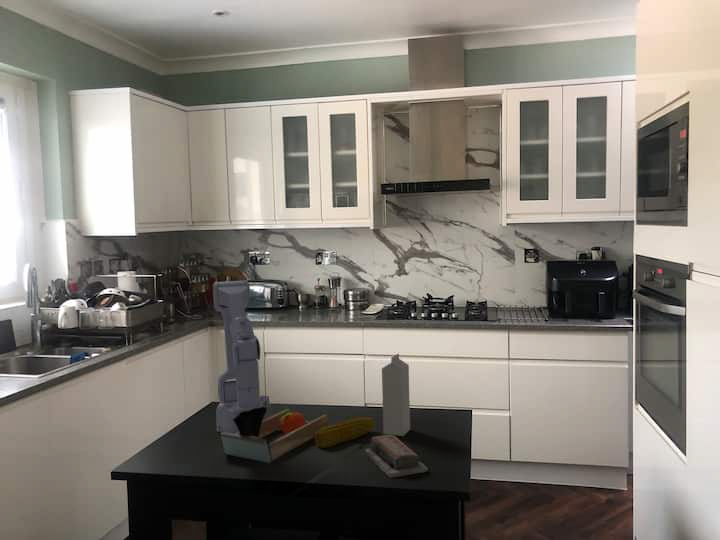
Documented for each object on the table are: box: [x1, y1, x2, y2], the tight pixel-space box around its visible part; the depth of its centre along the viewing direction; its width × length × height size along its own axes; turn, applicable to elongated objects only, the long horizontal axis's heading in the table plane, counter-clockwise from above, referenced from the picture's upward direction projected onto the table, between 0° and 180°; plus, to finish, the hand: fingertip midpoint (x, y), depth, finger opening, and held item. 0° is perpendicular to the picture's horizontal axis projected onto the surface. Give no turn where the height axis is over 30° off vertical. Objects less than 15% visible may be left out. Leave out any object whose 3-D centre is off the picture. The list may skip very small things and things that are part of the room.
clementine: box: [278, 411, 306, 436], centre depth 181 cm, size 8×7×7 cm
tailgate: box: [219, 432, 272, 464], centre depth 163 cm, size 14×1×6 cm, turn 61°
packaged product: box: [364, 434, 429, 479], centre depth 161 cm, size 18×5×10 cm
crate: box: [235, 408, 329, 462], centre depth 176 cm, size 14×26×5 cm, turn 151°
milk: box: [381, 353, 411, 437], centre depth 182 cm, size 6×6×22 cm
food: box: [314, 416, 376, 449], centre depth 177 cm, size 21×6×6 cm, turn 137°
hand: (250, 438), depth 165 cm, fingers open, 3 cm apart
